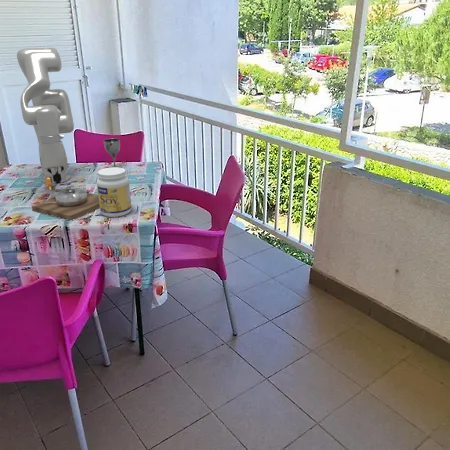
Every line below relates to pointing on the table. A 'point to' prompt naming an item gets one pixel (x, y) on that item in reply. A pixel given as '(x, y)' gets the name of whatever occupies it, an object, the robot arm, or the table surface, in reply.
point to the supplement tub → (113, 192)
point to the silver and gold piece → (66, 194)
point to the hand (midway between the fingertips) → (57, 182)
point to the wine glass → (112, 147)
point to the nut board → (68, 208)
